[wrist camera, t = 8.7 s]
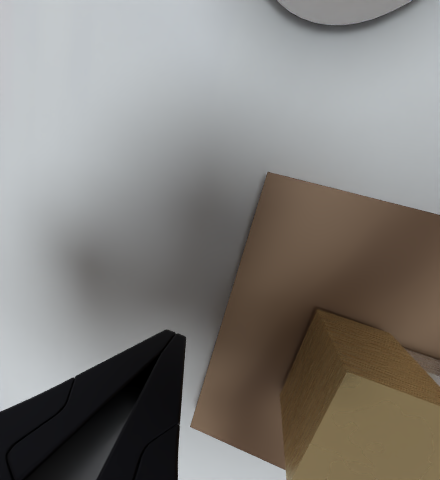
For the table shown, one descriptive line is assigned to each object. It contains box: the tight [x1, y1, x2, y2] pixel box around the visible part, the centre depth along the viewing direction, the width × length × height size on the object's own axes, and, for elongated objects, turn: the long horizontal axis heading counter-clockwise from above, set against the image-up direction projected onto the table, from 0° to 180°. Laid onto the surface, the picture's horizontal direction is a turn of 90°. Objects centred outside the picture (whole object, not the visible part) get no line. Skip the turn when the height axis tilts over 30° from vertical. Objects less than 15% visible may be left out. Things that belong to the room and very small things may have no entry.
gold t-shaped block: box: [280, 309, 440, 480], centre depth 8 cm, size 6×5×3 cm
